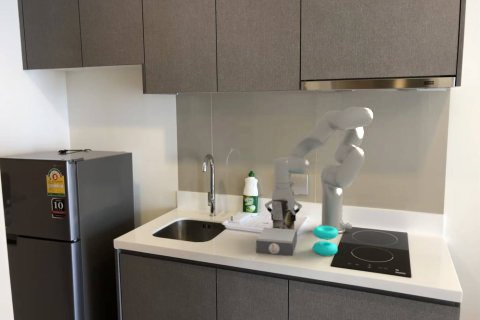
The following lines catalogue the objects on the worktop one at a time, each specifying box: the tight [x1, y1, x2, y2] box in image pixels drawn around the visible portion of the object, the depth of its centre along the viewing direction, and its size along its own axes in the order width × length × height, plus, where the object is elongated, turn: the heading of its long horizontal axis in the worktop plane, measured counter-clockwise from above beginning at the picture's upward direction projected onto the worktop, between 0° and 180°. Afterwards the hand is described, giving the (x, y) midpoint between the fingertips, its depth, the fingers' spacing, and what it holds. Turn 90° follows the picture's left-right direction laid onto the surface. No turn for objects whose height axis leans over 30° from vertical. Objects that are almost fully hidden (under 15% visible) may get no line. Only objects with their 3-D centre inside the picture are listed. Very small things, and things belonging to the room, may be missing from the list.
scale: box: [255, 226, 298, 257], centre depth 168 cm, size 15×16×6 cm
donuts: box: [312, 225, 339, 257], centre depth 163 cm, size 10×10×10 cm
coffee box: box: [272, 200, 295, 230], centre depth 181 cm, size 9×6×16 cm
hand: (283, 221), depth 182 cm, fingers closed on coffee box, 8 cm apart
